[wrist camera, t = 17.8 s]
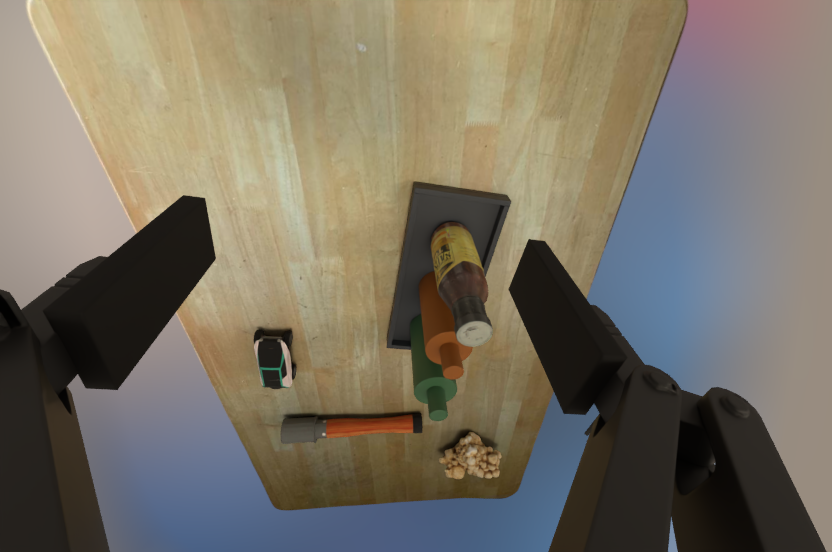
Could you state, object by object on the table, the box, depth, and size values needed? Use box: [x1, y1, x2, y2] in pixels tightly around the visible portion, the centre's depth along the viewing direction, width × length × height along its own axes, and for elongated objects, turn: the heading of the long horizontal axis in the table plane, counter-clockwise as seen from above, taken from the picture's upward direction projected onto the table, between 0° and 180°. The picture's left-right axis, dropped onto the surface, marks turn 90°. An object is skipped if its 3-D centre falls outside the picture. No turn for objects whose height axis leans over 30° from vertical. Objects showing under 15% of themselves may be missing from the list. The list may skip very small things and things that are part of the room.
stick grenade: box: [281, 413, 422, 444], centre depth 78 cm, size 5×5×30 cm
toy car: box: [254, 330, 296, 389], centre depth 64 cm, size 6×12×5 cm, turn 173°
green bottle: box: [410, 314, 457, 421], centre depth 56 cm, size 6×6×18 cm
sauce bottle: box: [431, 222, 493, 347], centre depth 46 cm, size 7×6×20 cm
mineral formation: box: [439, 432, 501, 479], centre depth 87 cm, size 8×13×15 cm
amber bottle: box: [419, 271, 473, 380], centre depth 51 cm, size 6×6×18 cm
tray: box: [387, 182, 511, 350], centre depth 58 cm, size 31×14×2 cm, turn 170°
